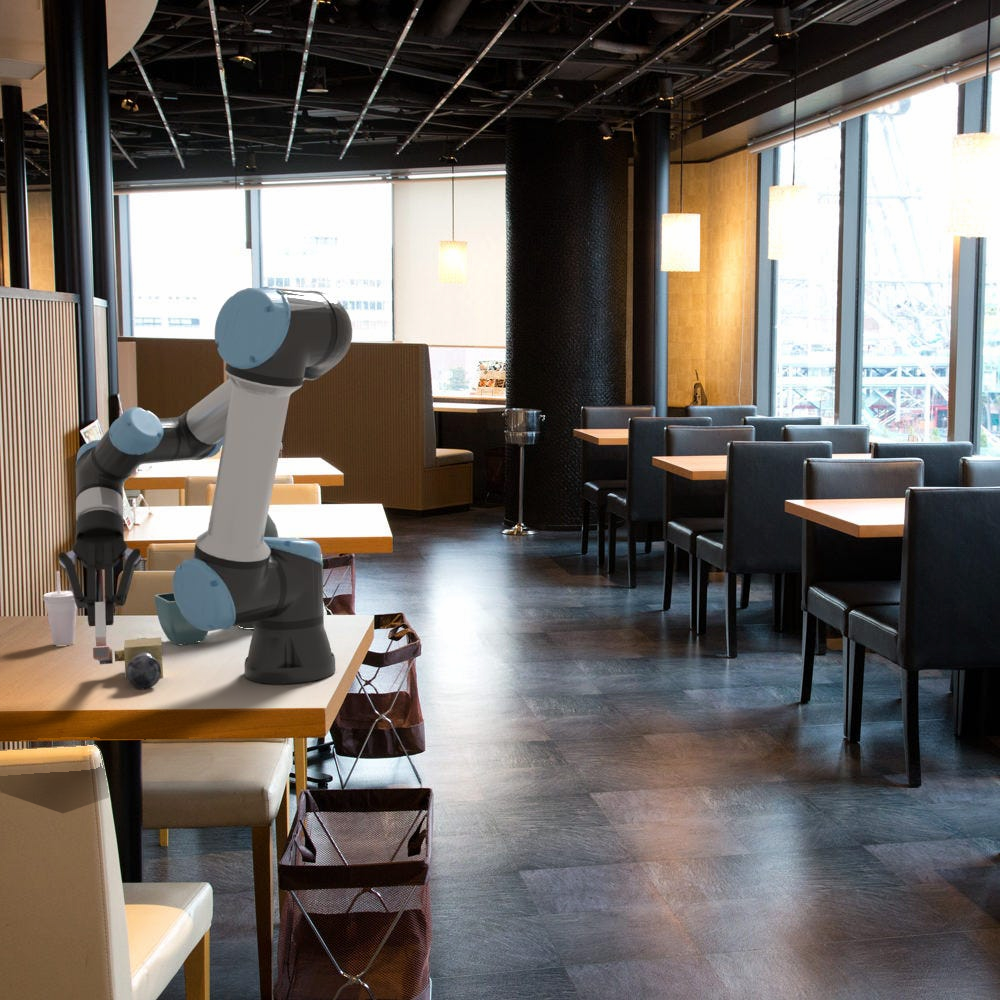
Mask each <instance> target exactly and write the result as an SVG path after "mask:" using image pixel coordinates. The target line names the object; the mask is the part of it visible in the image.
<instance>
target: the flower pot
mask: <svg viewBox="0 0 1000 1000" xmlns="http://www.w3.org/2000/svg"><path fill="white" fill-rule="evenodd" d="M154 602H155V607H156V614H157V617H158V622H159V624H160V628H161V629H162V632H163V633H164V635H165V636H166V638H167V639H168V641H169V642H171V641H172V643H173V642H174V643H173V644H175V645H176V644H182V645H185V644H184V643H188V644H191V643H190V642H195V643H199V642H198V641H202V642H203V641H204V640H205V639H206V636H207V635H208V633H209V631H204V630H200V629H198V628H196V627H194V626H193V625H191V624H190V623H189V622H188V621H187V620H186V619H185V618H184V616H183V615H182V613H181V611H180V609H179V607H178V606H177V603H176V601H175V597H174V593H173V592H167V593H160V594H155V595H154Z"/></svg>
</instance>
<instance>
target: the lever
mask: <svg viewBox="0 0 1000 1000" xmlns="http://www.w3.org/2000/svg"><path fill="white" fill-rule="evenodd" d="M92 658H93V660H96V661H97V662H98V661H99V665H110V664H113V662H114V661H113V659H114V658H113V649H112V648H111V647H109V646H98V647H92Z"/></svg>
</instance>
